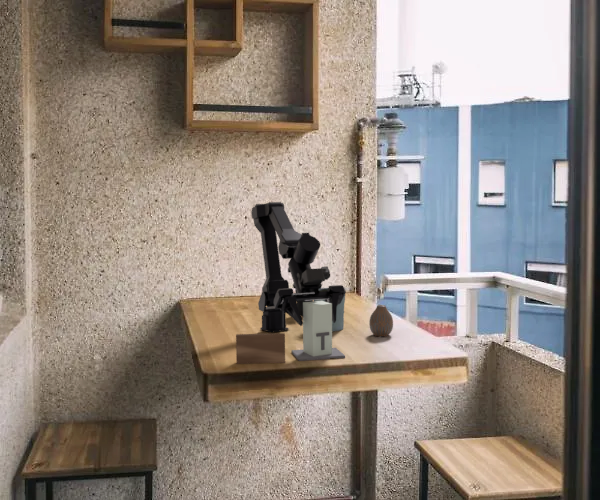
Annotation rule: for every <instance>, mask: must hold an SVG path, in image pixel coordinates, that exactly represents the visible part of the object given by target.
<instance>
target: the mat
mask: <svg viewBox="0 0 600 500" xmlns="http://www.w3.org/2000/svg"><path fill="white" fill-rule="evenodd" d="M291 354H292V355H293V356H294V357H295V358H296V360H298V362H300V361H301V362H305V361H317V360H318V361H319V360H330V358H336V359H345V358H346V355H345V353H343V352H342V351H340V349H339V348H337V347H332V354H327V355H320V356H311V355H309V354H307V353H305V352H303V349H291Z"/></svg>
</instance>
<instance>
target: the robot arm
mask: <svg viewBox="0 0 600 500" xmlns="http://www.w3.org/2000/svg"><path fill="white" fill-rule="evenodd" d="M250 215H251V219H253V224H254V228H256V230H257V231H258V232H259V233H260V238H261V245H262V246H261V247H262V253H263V254H262V255H263V262H264V271H265V281H264V283H263V284H262V285H263V286H262V288H261V291H262V292H261V294H260V297H259V300H258V302H257V305H258V310H259V311H260V312H262V315H261V327H260V330H262V331H265V332H269V333H278V332H284V331H289V329H290V328H289V327H286V325H287V324H286V314H287V315H289V316H290V318H292V319H293V320H294V321H295V322H296V323H297V324H298V326H300V327H302V326H303V316H301V315H300V312H299V309H298V307H297V302H296V301H301V300H305V301H309V300H313V301H314V300H323V299H325V302H328V303H331V304H332V321H333V323H335V322H336V311H337V305H338V304H340V303H341V301H342V299H343V297H344V295H345V296H346V294H347V292H346V291H345V290H346V288H345V286H343V285H342V284H335V285H334V284H333V285H329V286H328V287H327V288H328V290H327V291H324V292H319V289H320V288H323V286H322V283H323V282H325V281H326V280H327V281H328V280H329V278H331V273H330V272H331V271H330V269H329V267H328V266H321V268H320V267H319V268H312V266H311V264H312V263H314V262H315V259H316V257H317V255H318V253H319V250H320V247H321V242H320V240H318V239H317V238H316V237H315V236H313V235H310V232H302V233H300V232H298V231H296V230H295V228H294V226H293V225H292V222H291V220H290V218H289V217H288V215H287V213H286V210H285V205H284V203H283V202H281V201H269V202H267V203H256V204H255V205H254V206H253V207H252V208H251V214H250ZM277 237H278V238H277ZM278 239H279V242H278ZM280 256H281V258H282V259H284V260H286V259H287V260H289V259H290V260H289V261H288V263H287V265H288V267H287V273H290V275H291V279H292V281H293V284H292V288H291V287H290V285H289V284H290V283H289V281H288V279H285V278H284V277H283V276H282V269H281V262H280ZM295 288H296V291H297V293H296V292H294V289H295Z"/></svg>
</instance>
